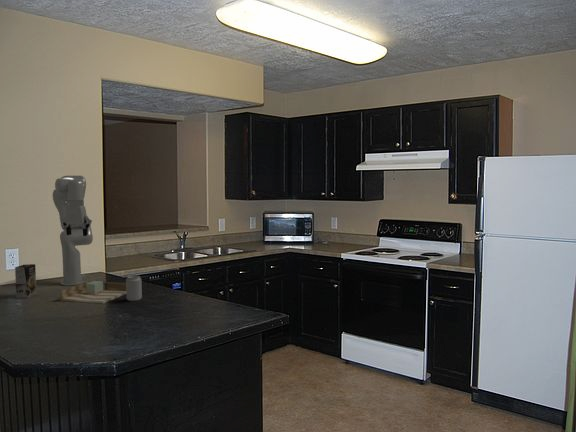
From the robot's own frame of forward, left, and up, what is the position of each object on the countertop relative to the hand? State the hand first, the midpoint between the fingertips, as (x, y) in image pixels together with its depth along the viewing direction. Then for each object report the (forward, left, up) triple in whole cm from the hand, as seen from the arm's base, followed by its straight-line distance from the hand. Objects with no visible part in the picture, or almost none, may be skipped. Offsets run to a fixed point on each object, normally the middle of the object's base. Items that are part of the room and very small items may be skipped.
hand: (77, 235), depth 272 cm
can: (+9, +38, -31) cm, 50 cm away
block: (+2, +12, -30) cm, 32 cm away
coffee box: (+13, -22, -31) cm, 40 cm away
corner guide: (+7, +15, -31) cm, 35 cm away
